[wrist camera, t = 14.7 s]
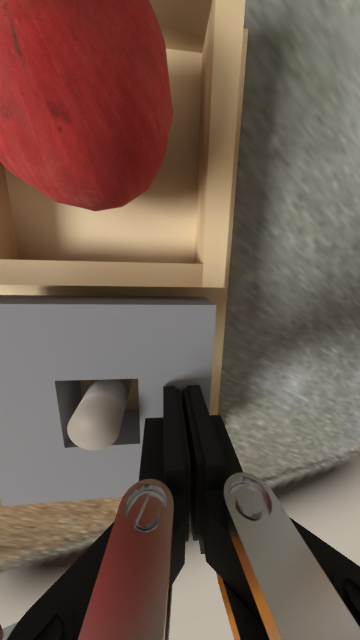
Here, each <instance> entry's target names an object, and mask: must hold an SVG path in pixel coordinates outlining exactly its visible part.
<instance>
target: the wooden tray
mask: <svg viewBox="0 0 360 640" xmlns="http://www.w3.org/2000/svg"><path fill="white" fill-rule="evenodd" d="M149 1H150V3H151V5H152V8H153V10H154V12H155V14H156V17H157V19H158V22H159V25H160V28H161V32H162V35H163V38H164V41H165V46H166V55H167V64H168V74H169V83H170V91H171V99H172V106H173V116H172V122H171V127H170V132H169V137H168V143H167V148H166V153H165V157H164V161H163V165H162V166H161V168H160V170H159V171H158V173H157V175H156V176H155V178H154V180H153V181H152V183H151V185H150V186H149V188H148V190H147V191H146V192H144V193H143V194H141V195H140V196H138V197H137V198H135V199H134V200H132V201H131V202H129V203H128V204H126V205H125V206H123V207H119V208H113V209H107V210H102V211H96V212H95V211H92V210H88V209H84V208H80V207H75V206H70V205H66V204H61V203H57V202H54V201H53V200H51V199H50V198H48V197H47V196H45V195H44V194H42V193H41V192H39V191H38V190H36V189H35V188H33V187H32V186H30V185H28V184H27V183H25V182H24V181H22V180H21V179H19V178H18V177H16V176H15V175H14V174H12V173H11V172H9V171H8V170H7V169H6V168H5V167H4V166H3V164H2V163H1V162H0V295H68V296H181V297H206V298H207V299H208V300H210V301H211V302H213V303H214V304H216V320H215V335H214V350H213V365H212V380H211V395H210V410H209V415H218V407H219V395H220V382H221V369H222V357H223V344H224V331H225V319H226V306H227V293H228V281H229V268H230V255H231V243H232V230H233V217H234V205H235V192H236V179H237V167H238V154H239V141H240V129H241V116H242V103H243V91H244V78H245V65H246V53H247V40H248V29H246V28H243V27H244V13H245V0H149ZM80 383H81V392H82V400H81V402H80V404H79V405H78V407H77V409H76V410H75V412H74V414H73V415H72V417H71V419H70V420H69V423H68V426H67V432H68V435H69V438H70V439H71V441H72V442H73V443H74V444H76V445H77V446H79V447H80V448H83V449H86V450H102V449H105V448H107V447H109V446H111V445H112V444H113V443H114V442H115V441H116V439H117V438H118V435H119V432H120V428H121V424H122V420H123V416H124V412H125V410H139V388H138V379H104V380H80Z"/></svg>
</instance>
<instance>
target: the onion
mask: <svg viewBox="0 0 360 640" xmlns="http://www.w3.org/2000/svg"><path fill="white" fill-rule="evenodd" d="M172 116H173V106H172V99H171V91H170V83H169V74H168V64H167V55H166V46H165V41H164V38H163V35H162V32H161V28H160V25H159V22H158V19H157V17H156V14H155V12H154V10H153V8H152V5H151V3H150V1H149V0H0V162H1V163H2V164H3V166H4V167H5V168H6V169H7V170H8V171H9V172H11V173H12V174H14V175H15V176H16V177H18V178H19V179H21V180H22V181H24V182H25V183H27V184H28V185H30V186H32V187H33V188H35V189H36V190H38V191H39V192H41V193H42V194H44V195H45V196H47V197H48V198H50V199H51V200H53V201H54V202H57V203H61V204H66V205H70V206H75V207H80V208H84V209H88V210H92V211H95V212H96V211H102V210H107V209H113V208H119V207H123V206H125V205H126V204H128V203H129V202H131V201H132V200H134V199H135V198H137V197H138V196H140V195H141V194H143V193H144V192H146V191H147V190H148V188H149V186H150V185H151V183H152V181H153V180H154V178H155V176H156V175H157V173H158V171H159V170H160V168H161V166H162V165H163V161H164V157H165V153H166V148H167V143H168V137H169V132H170V127H171V122H172Z"/></svg>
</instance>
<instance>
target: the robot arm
mask: <svg viewBox="0 0 360 640" xmlns="http://www.w3.org/2000/svg"><path fill="white" fill-rule="evenodd" d="M189 515H190V519H191V527H192V536H193V540H194V541H195V540H199V544H200V551H201V554H205V556H206V562H207V563H208V564H209V565H210V566H211V567H212V568H213V569H214V570H215V571H216V573H217V579H218V584H219V587H220V591H221V594H222V598H223V601H224V604H225V608H226V612H227V615H228V619H229V623H230V626H231V630H232V633H233V636H234V640H360V566H358V565H356V564H355V563H354V562H352V561H351V560H349V559H348V558H347V557H345V556H344V555H342V554H341V553H340V552H338V551H337V550H335V549H334V548H332V547H331V546H330V545H328V544H327V543H325V542H324V541H322V540H321V539H320V538H318V537H317V536H315V535H314V534H312V533H311V532H310V531H308V530H307V529H305V528H304V527H302V526H301V525H300V524H298V523H297V522H295V521H294V520H293V519H291V518H290V517H289V516H288V515H287V513H286V512H285V510H284V509H283V507H282V505H281V504H280V502H279V501H278V499H277V498H276V496H275V494H274V493H273V491H272V490H271V489H270V488H269V486H268V485H267V484H266V483H265V482H264V481H262V480H261V479H260V478H258V477H256V476H254V475H253V474H249V473H245V472H243V471H242V468H241V466H240V463H239V461H238V458H237V456H236V453H235V451H234V448H233V446H232V443H231V441H230V438H229V436H228V433H227V431H226V428H225V426H224V423H223V421H222V418H221V416H220V415H209V412H208V409H207V406H206V403H205V400H204V396H203V393H202V390H201V387H200V385H188V386H187V389H183V407H182V400H181V394H180V389H175V386H163V417H159V418H146V419H145V426H144V435H143V444H142V454H141V463H140V472H139V481H138V482H137V483H135V484H134V485H132V486H131V487H130V488H129V489H128V490H127V492H126V493H125V494H124V496H123V498H122V500H121V503H120V505H119V509H118V512H117V515H116V518H115V521H114V522H113V523H112V524H111V526H110V527H109V528H108V529H107V530H106V531H105V532H104V533H103V534H102V535H101V536H100V537H99V538H98V539H97V540H96V541H95V542H94V543H93V544H92V545H91V546H90V547H89V548H88V549H87V550H86V551H85V552H84V553H83V554H82V556H81V557H79V558H78V560H77V561H76V562H75V563H74V564H73V565H72V566H71V567H70V568H69V569H68V570H67V571H66V572H65V573H64V574H63V575H62V576H61V577H60V578H59V579H58V580H57V581H56V582H55V583H54V585H52V586H51V587H50V588H49V589H48V590H47V592H46V593H45V594H44V595H43V596H42V597H41V598H40V599H39V600H38V601H37V602H36V603H35V604H34V605H33V606H32V607H31V608H30V609H29V610H28V611H27V612H26V614H25V615H24V616H23V617H22V618H21V620H20V621H19V622H17V623H15V624H13V625H11V626H8V627H6V628H4V629H2V627H1V625H0V640H169V631H170V616H171V601H172V584H173V582H174V581H175V579H176V577H177V575H178V574H179V572H180V570H181V569H182V567H183V565H184V562H185V561H184V560H185V541H188V538H189Z"/></svg>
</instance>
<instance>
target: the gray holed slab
mask: <svg viewBox="0 0 360 640" xmlns="http://www.w3.org/2000/svg"><path fill="white" fill-rule="evenodd" d="M215 320H216V304H214V303H213V302H211V301H210V300H208V299H207V298H206V297H181V296H68V295H0V499H1V503H2V506H10V505H23V504H36V503H48V502H61V501H74V500H87V499H99V498H112V497H123V496H124V494H125V493H126V492H127V490H128V489H129V488H130V487H131V486H132V485H134V484H135V483H137V482H138V481H139V472H140V463H141V454H142V444H143V435H144V426H145V419H146V418H159V417H163V386H175V389H180V394H181V400H182V407H183V389H187V386H188V385H200V387H201V390H202V393H203V396H204V400H205V403H206V406H207V409H208V412H209V410H210V395H211V380H212V365H213V350H214V335H215ZM104 379H138V388H139V410H125V412H124V416H123V420H122V424H121V428H120V432H119V435H118V438H117V439H116V441H115V442H114V443H113V444H112V445H111V446H109V447H107V448H105V449H102V450H86V449H83V448H80V447H79V446H77V445H76V444H74V443H73V442H72V441H71V439H70V438H69V435H68V432H67V426H68V423H69V420H70V419H71V417H72V415H73V414H74V412H75V410H76V409H77V407H78V405H79V404H80V402H81V400H82V392H81V383H80V380H104Z"/></svg>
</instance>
